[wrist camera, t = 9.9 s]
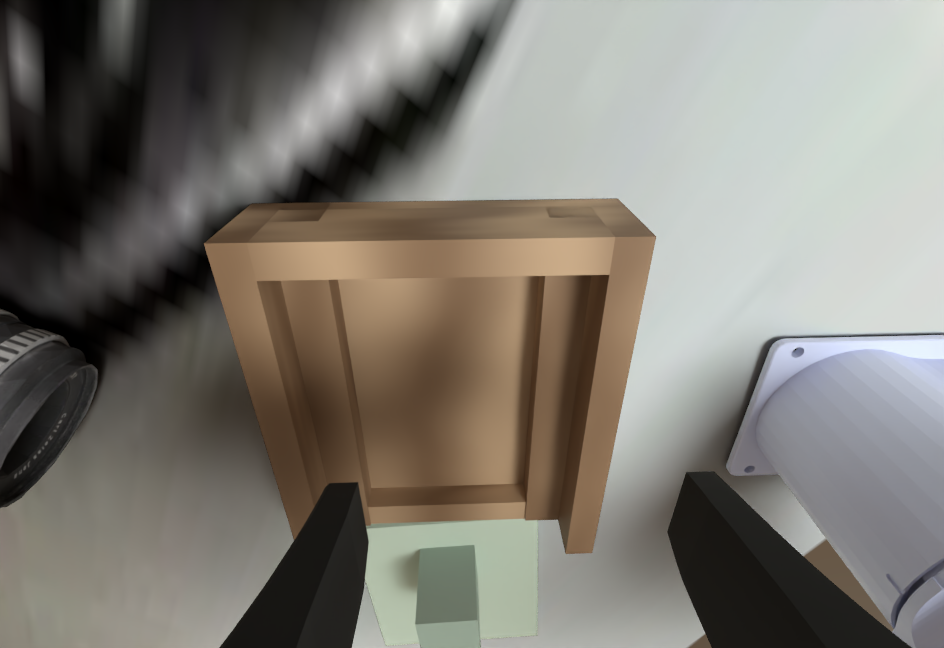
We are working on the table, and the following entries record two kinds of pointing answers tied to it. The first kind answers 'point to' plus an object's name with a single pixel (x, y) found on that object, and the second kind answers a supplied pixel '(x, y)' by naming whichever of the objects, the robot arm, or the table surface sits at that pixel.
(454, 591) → the lid
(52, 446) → the camera
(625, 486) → the table surface
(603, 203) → the box
